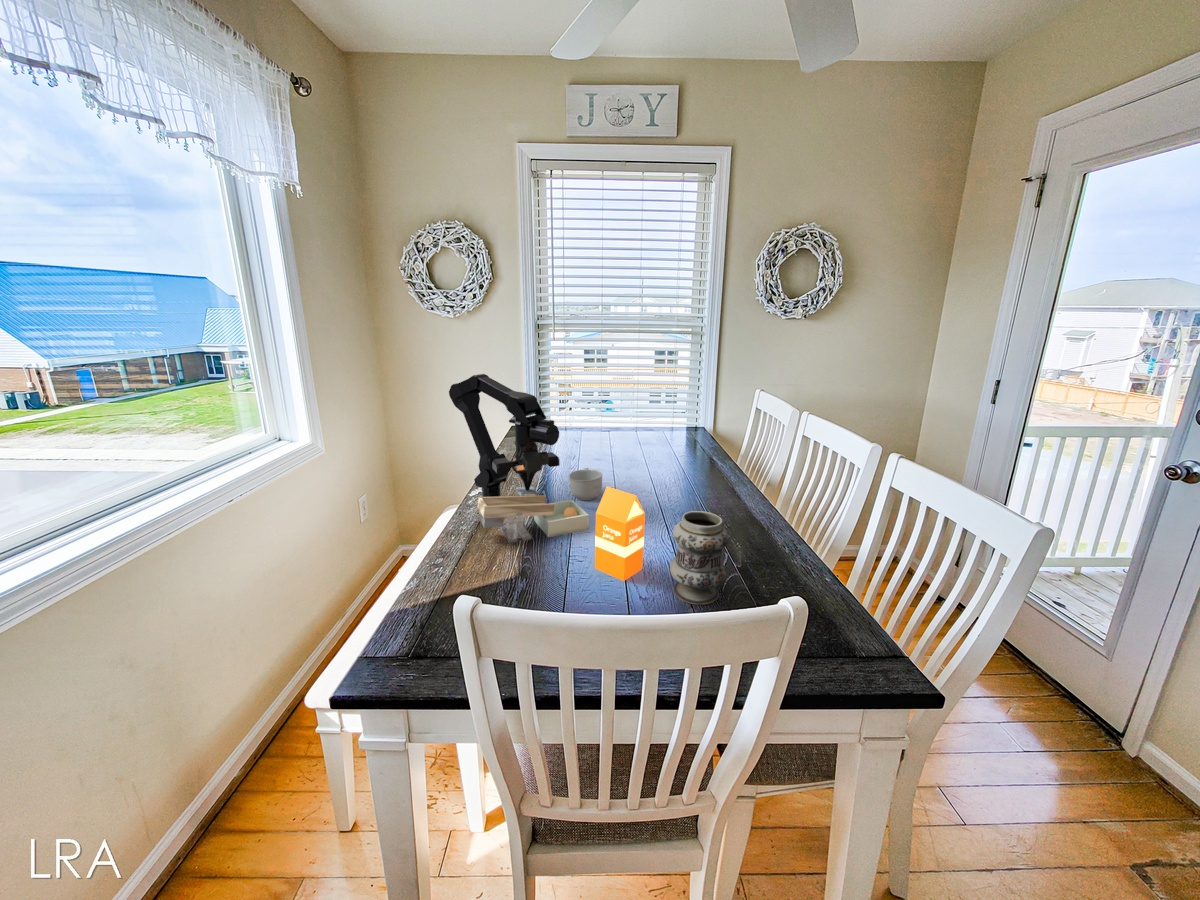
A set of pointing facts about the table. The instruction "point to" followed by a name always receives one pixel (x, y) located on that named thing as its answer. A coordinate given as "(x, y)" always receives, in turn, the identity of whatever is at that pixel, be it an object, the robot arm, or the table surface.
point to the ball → (569, 512)
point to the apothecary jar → (699, 557)
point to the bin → (563, 520)
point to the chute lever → (512, 507)
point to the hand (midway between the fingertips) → (527, 490)
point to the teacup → (585, 484)
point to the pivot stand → (515, 529)
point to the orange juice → (619, 534)
